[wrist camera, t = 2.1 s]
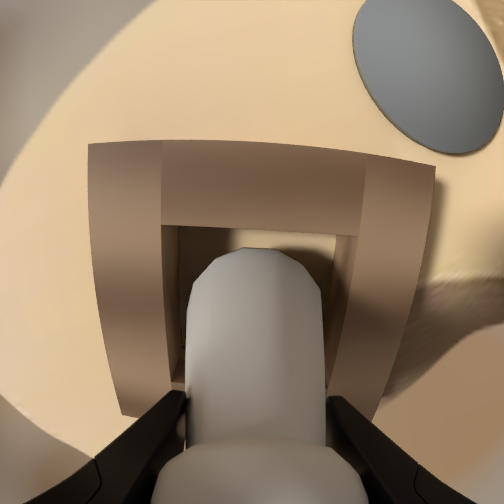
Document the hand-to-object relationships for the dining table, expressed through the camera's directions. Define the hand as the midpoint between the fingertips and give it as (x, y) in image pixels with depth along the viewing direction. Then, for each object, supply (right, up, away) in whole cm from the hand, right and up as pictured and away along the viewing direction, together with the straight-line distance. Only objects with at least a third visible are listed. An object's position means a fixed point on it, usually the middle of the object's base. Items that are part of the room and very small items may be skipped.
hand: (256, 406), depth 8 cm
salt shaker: (0, +2, +8) cm, 8 cm away
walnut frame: (0, +2, +8) cm, 8 cm away
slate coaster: (+10, +14, +4) cm, 18 cm away
